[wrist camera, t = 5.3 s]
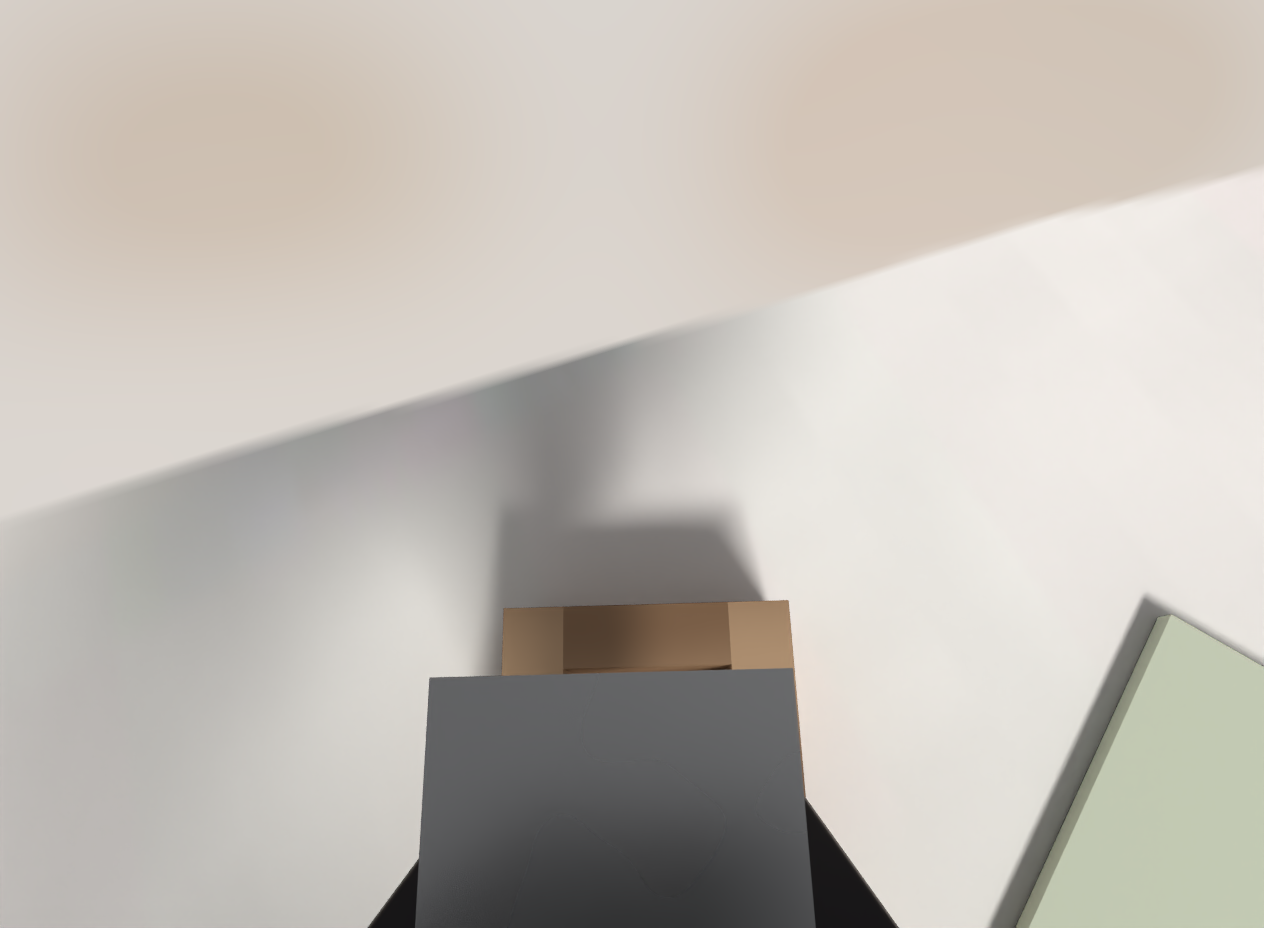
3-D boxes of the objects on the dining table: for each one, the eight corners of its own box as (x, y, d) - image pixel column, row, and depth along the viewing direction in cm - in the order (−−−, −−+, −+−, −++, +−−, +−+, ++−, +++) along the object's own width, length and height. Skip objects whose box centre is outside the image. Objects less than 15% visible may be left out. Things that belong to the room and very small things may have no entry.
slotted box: (805, 1030, 19) (830, 1086, 16) (515, 1034, 19) (489, 1089, 16) (772, 615, 22) (788, 600, 19) (524, 622, 22) (503, 608, 19)
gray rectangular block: (725, 1008, 13) (888, 1753, 4) (580, 1011, 13) (368, 1742, 4) (709, 702, 15) (793, 667, 5) (579, 705, 15) (429, 676, 5)
